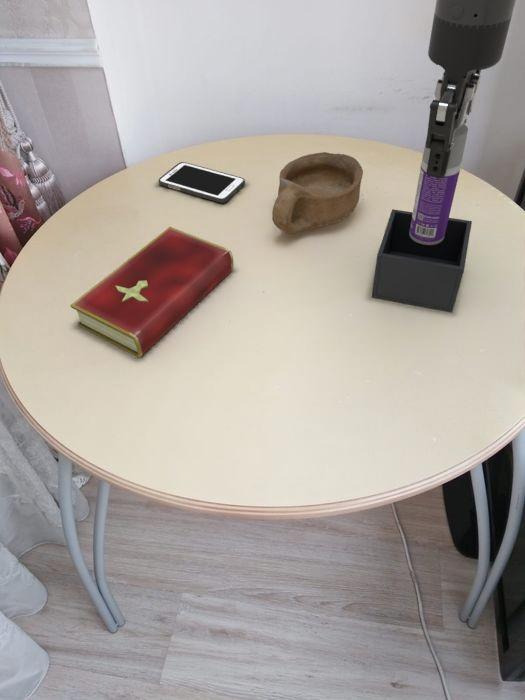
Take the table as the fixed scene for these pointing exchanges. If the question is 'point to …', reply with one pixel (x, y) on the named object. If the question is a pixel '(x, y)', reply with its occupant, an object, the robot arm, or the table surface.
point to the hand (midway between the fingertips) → (441, 164)
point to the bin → (420, 264)
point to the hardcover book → (153, 290)
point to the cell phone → (202, 182)
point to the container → (436, 195)
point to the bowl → (316, 191)
